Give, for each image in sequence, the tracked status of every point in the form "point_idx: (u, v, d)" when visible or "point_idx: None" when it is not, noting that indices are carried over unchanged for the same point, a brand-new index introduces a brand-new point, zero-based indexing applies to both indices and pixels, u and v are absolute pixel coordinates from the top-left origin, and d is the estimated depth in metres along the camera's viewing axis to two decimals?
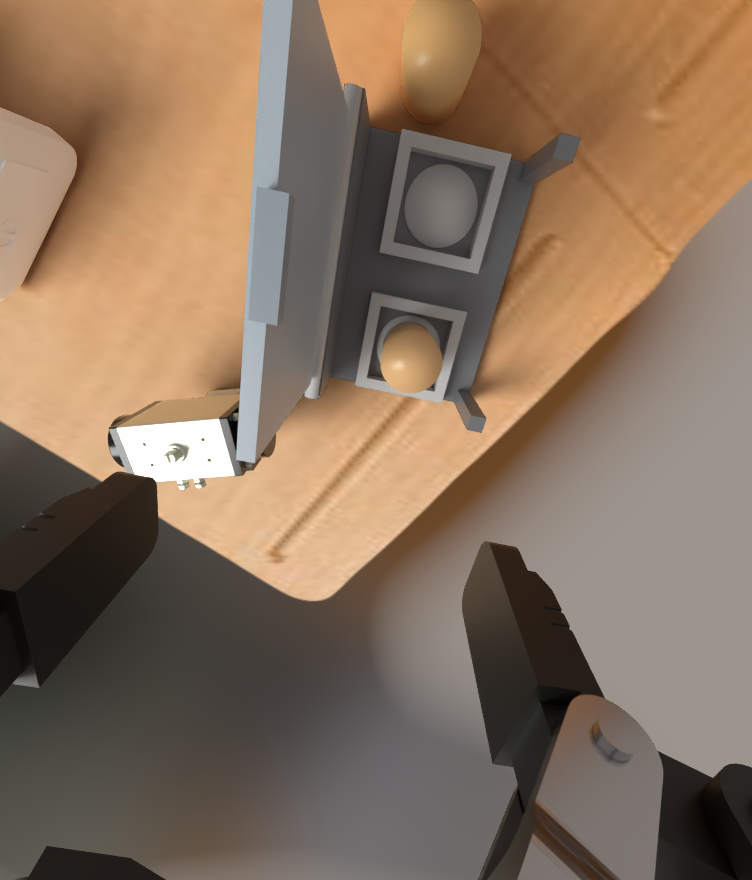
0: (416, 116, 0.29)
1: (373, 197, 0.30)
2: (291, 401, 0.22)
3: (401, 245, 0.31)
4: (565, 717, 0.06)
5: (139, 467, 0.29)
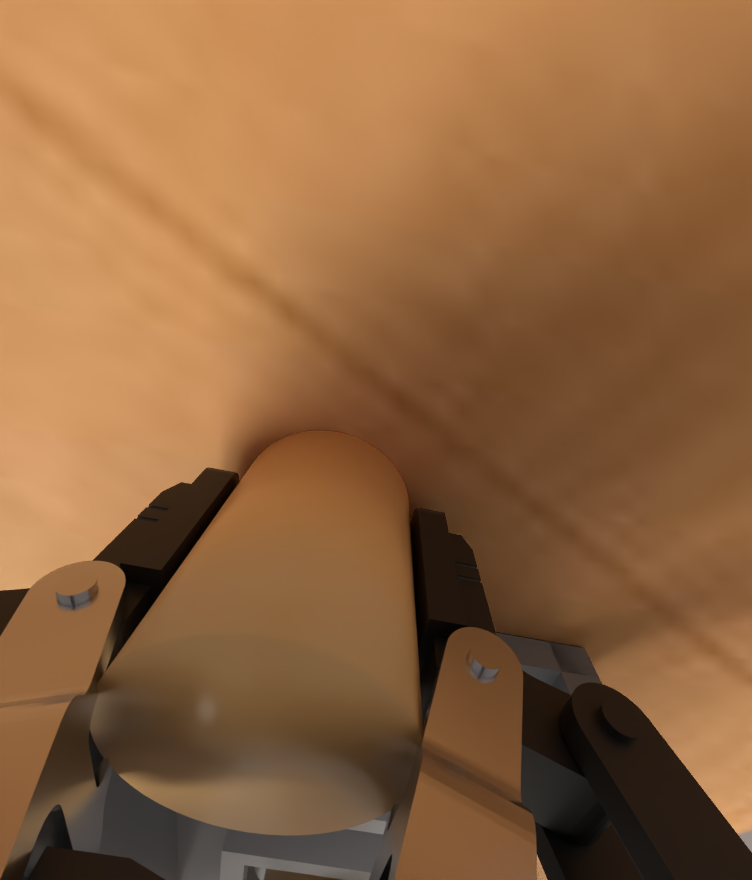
0: None
1: None
2: None
3: None
4: (444, 654, 0.06)
5: None
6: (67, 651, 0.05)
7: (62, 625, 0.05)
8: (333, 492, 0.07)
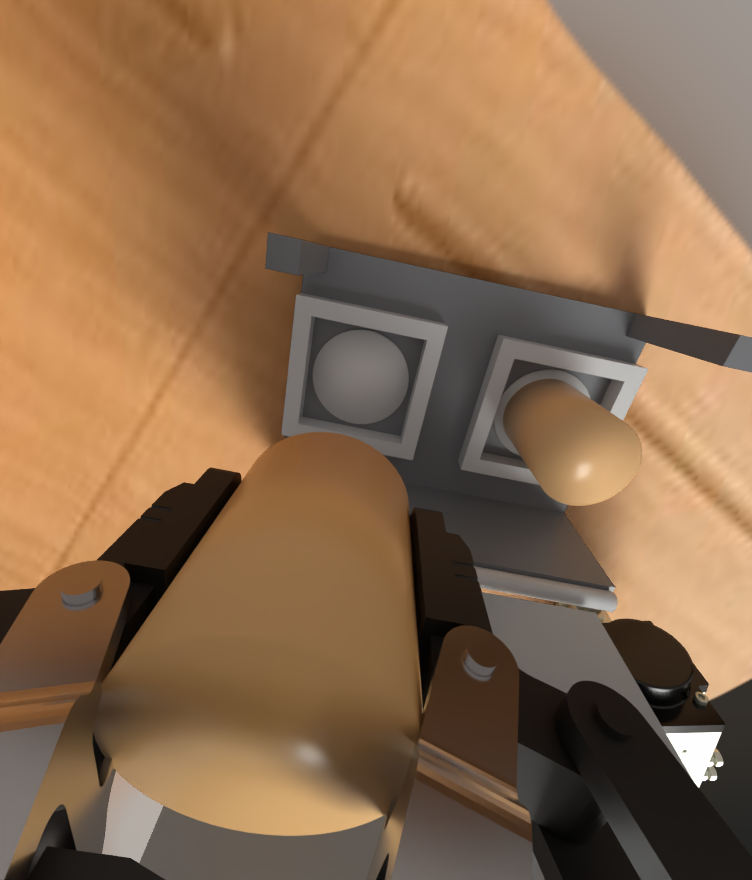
0: None
1: None
2: None
3: (405, 434, 0.23)
4: (441, 653, 0.06)
5: None
6: (73, 651, 0.05)
7: (66, 625, 0.05)
8: (334, 494, 0.07)
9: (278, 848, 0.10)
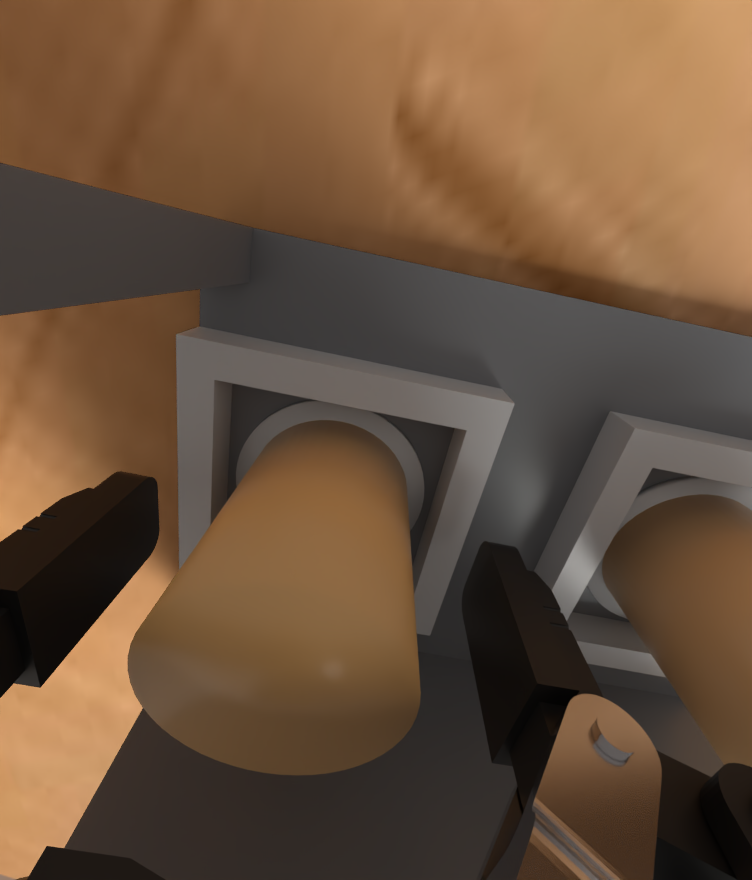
0: None
1: None
2: None
3: (417, 595, 0.12)
4: (564, 716, 0.06)
5: None
6: None
7: None
8: (338, 472, 0.08)
9: None
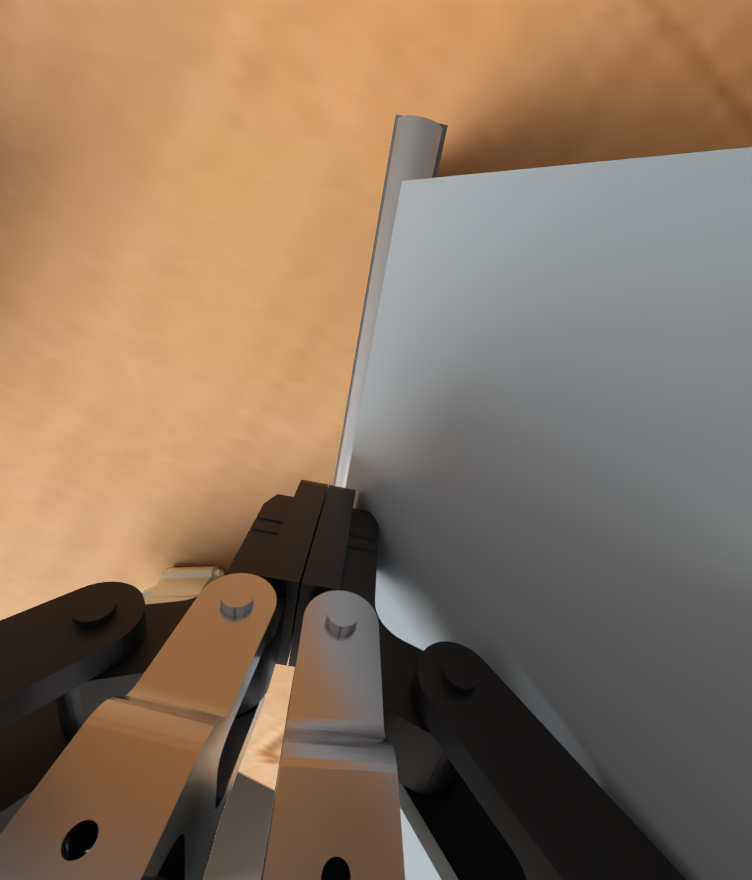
0: None
1: None
2: None
3: None
4: (302, 627, 0.06)
5: None
6: (252, 662, 0.05)
7: (218, 635, 0.06)
8: None
9: None
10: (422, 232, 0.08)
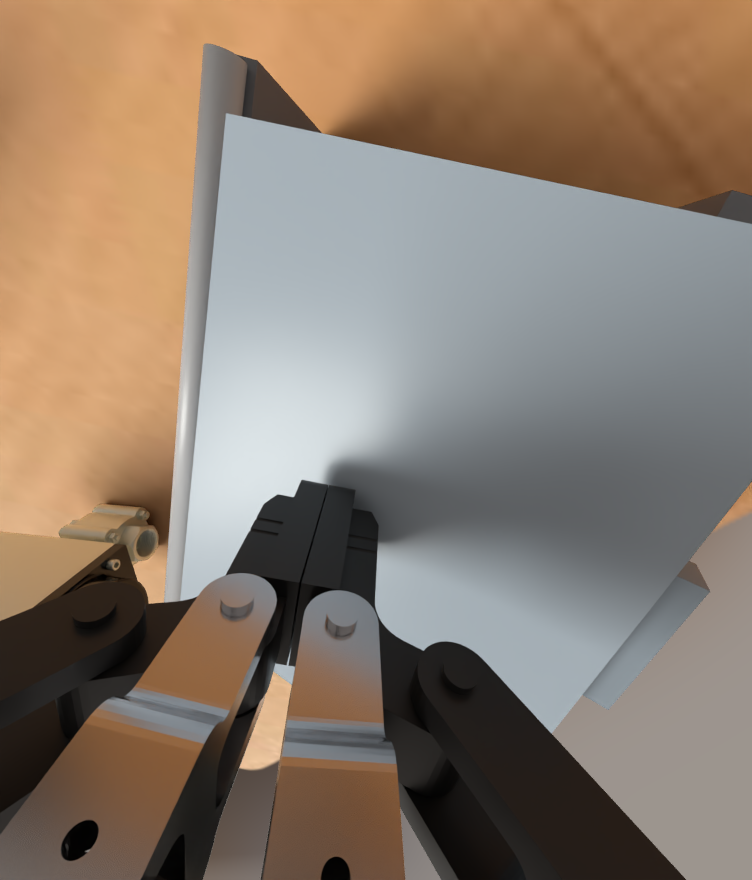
0: None
1: None
2: None
3: None
4: (302, 627, 0.06)
5: None
6: (252, 662, 0.05)
7: (219, 635, 0.06)
8: None
9: None
10: (257, 167, 0.09)
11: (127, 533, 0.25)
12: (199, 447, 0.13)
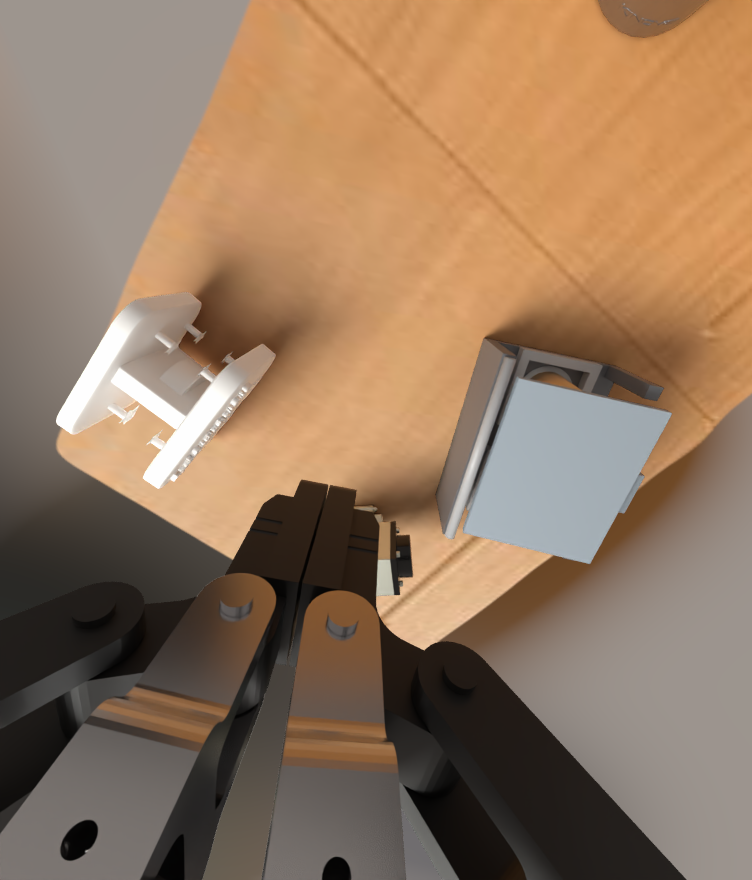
0: None
1: None
2: None
3: None
4: (303, 627, 0.06)
5: None
6: (251, 662, 0.05)
7: (218, 635, 0.06)
8: None
9: None
10: (528, 391, 0.33)
11: None
12: (488, 470, 0.36)
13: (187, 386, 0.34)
